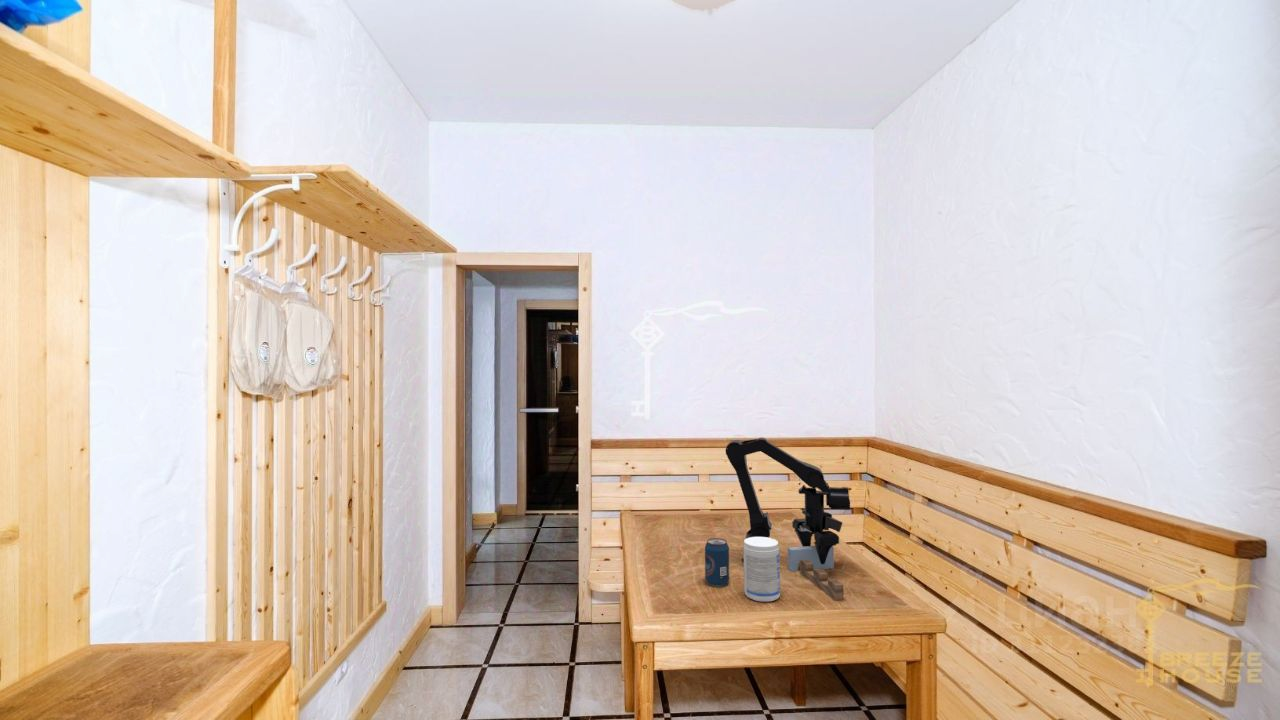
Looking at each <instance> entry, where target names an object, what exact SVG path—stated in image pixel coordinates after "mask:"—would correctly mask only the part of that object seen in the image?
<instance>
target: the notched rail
mask: <svg viewBox="0 0 1280 720" xmlns="http://www.w3.org/2000/svg"><path fill="white" fill-rule="evenodd" d="M799 569H800V570H799V573H800V575H802V576H803V577H805V578H806V579H807V580H808V581H810V582H811V583H812V584H814V585H815V586H816V587H818V588H819V589H821V591H823V592H824V593H825V594H827V595H828V596H829V597H831V598H832V599H833V598H834V599H833V600H834V601H836V600H837V601H843V600H845V599H844V598H845V595H844V593H845V591H844V584H843V583H842V582H840V581H839V580H838V579H836V578H832V579H828V578H829V577H828V575H829V574H828V573H827V572H826V571H825V570H824V569H814V567H813V563H811V562H810V561H808V560H807V559H806V560H800V562H799Z"/></svg>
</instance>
